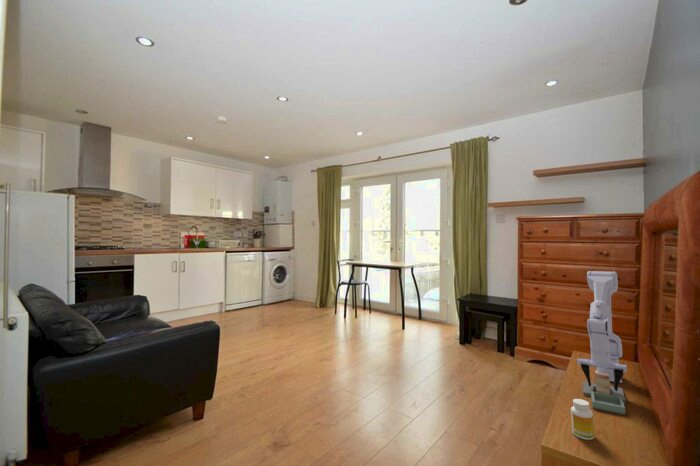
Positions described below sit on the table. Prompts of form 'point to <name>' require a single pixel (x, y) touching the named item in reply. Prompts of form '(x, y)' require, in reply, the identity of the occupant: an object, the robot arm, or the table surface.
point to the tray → (607, 403)
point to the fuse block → (602, 383)
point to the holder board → (588, 389)
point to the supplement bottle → (582, 420)
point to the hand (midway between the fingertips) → (602, 387)
